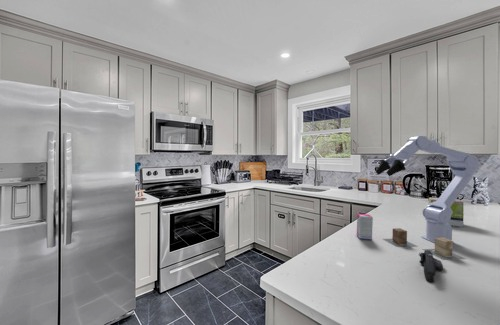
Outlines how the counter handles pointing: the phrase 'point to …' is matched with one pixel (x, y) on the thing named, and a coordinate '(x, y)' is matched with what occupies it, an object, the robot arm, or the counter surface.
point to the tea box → (454, 212)
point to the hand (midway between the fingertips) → (382, 173)
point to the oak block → (443, 246)
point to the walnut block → (399, 236)
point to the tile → (400, 244)
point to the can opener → (430, 265)
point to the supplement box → (364, 226)
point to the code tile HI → (453, 257)
